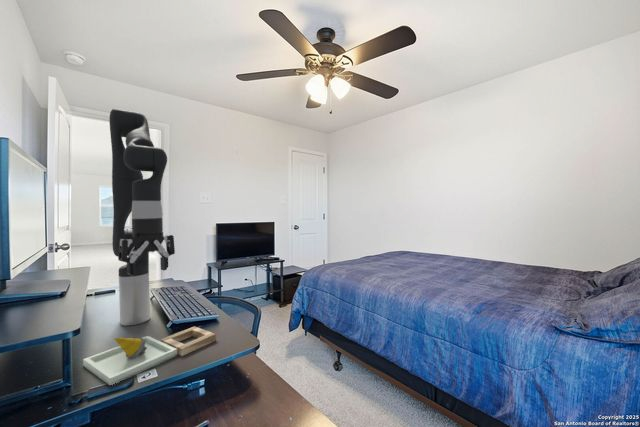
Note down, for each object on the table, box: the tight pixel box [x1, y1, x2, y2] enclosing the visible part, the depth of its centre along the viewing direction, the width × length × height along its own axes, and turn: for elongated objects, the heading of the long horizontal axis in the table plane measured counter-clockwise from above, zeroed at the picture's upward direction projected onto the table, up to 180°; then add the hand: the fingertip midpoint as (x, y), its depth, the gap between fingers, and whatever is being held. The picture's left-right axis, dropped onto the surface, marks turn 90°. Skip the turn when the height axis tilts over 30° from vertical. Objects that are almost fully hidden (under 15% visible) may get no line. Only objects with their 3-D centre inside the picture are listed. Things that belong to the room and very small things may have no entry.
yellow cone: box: [113, 337, 147, 359], centre depth 77 cm, size 5×5×10 cm
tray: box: [82, 335, 178, 386], centre depth 77 cm, size 16×16×2 cm
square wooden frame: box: [159, 326, 217, 357], centre depth 87 cm, size 11×11×2 cm
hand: (148, 272), depth 83 cm, fingers open, 8 cm apart
